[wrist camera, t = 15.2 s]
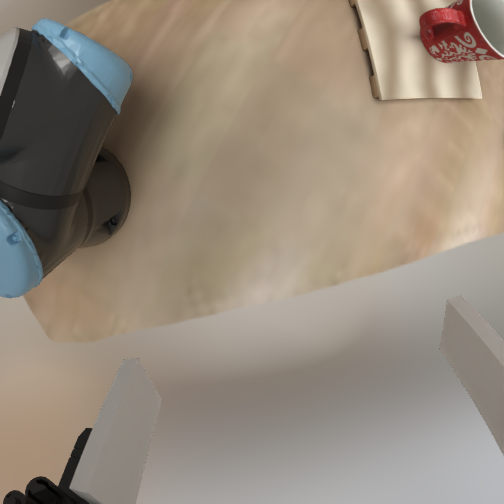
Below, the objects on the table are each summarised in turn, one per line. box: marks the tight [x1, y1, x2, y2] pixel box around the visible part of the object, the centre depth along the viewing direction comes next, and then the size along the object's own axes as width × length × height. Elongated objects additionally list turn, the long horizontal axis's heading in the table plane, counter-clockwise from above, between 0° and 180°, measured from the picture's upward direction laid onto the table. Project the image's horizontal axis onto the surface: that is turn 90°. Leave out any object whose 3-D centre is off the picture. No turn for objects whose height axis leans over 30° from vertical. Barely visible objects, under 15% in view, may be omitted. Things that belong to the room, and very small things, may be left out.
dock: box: [349, 0, 482, 100], centre depth 32 cm, size 18×18×3 cm
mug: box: [419, 0, 504, 63], centre depth 24 cm, size 13×9×14 cm
